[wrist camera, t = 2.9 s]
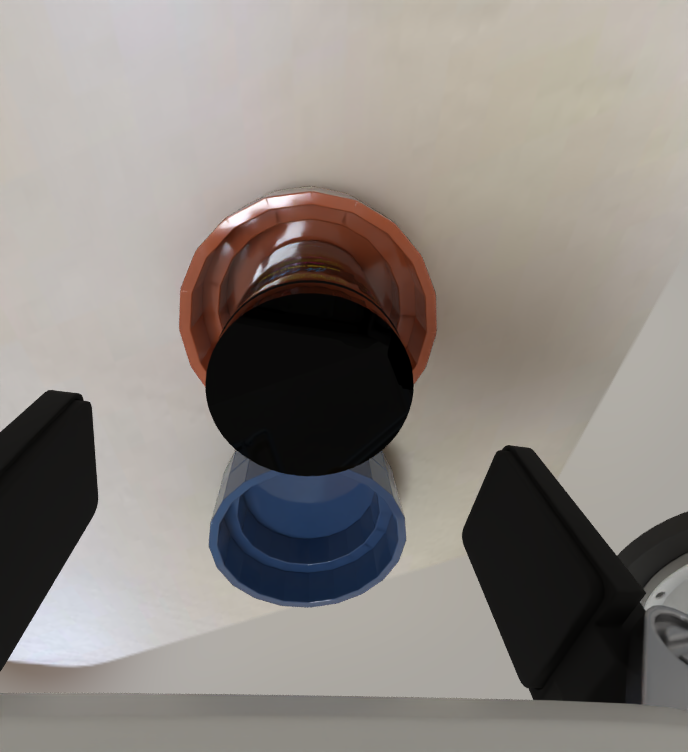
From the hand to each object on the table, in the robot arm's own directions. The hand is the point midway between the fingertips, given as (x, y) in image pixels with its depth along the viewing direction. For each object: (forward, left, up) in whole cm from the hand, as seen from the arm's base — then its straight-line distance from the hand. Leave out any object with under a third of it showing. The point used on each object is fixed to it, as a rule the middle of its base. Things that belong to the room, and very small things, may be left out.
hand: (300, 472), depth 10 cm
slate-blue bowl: (-2, +13, -15) cm, 20 cm away
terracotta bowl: (0, 0, -15) cm, 15 cm away
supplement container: (0, 0, -15) cm, 15 cm away
